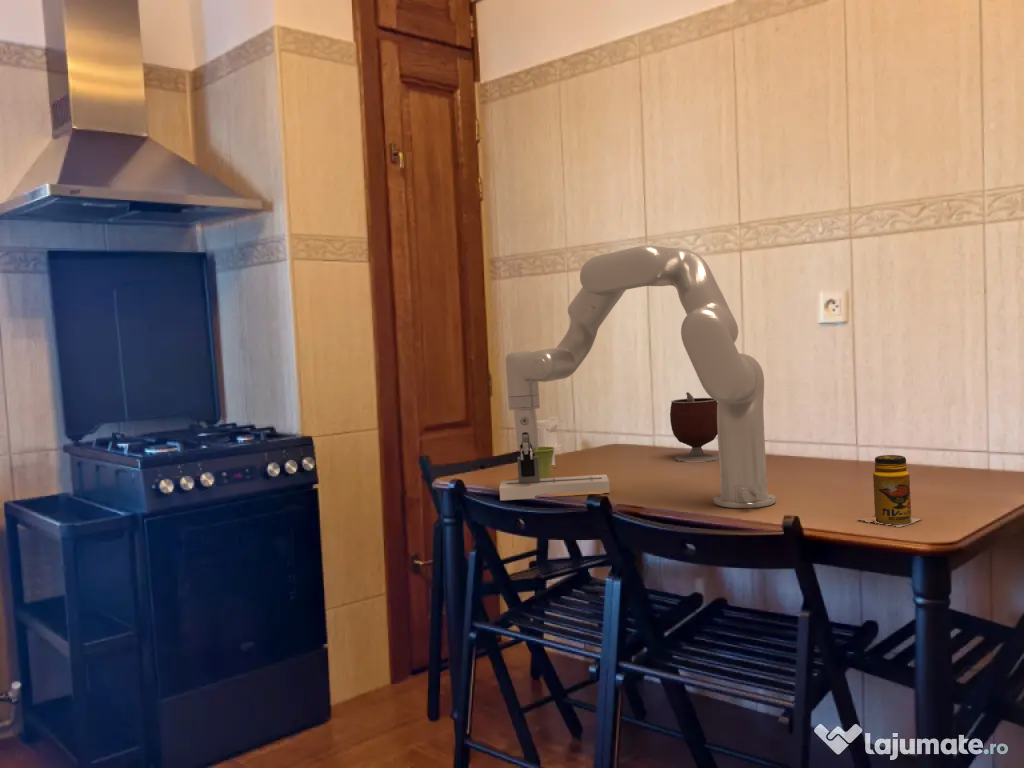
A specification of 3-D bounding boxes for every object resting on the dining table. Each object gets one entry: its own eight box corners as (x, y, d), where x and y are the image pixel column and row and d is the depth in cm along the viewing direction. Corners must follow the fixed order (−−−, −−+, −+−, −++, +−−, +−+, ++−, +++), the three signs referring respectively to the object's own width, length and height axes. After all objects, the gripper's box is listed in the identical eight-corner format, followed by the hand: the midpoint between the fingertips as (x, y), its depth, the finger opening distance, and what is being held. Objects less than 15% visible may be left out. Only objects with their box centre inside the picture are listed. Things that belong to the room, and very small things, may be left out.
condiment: (900, 528, 150) (897, 460, 149) (856, 521, 157) (853, 457, 156) (922, 520, 154) (919, 455, 153) (878, 514, 161) (875, 452, 160)
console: (610, 493, 199) (609, 480, 199) (500, 500, 201) (499, 487, 200) (607, 486, 209) (606, 474, 209) (502, 492, 211) (501, 480, 210)
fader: (539, 482, 203) (537, 457, 203) (518, 483, 204) (517, 458, 203) (539, 480, 207) (538, 455, 206) (519, 481, 207) (517, 456, 206)
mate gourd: (678, 455, 252) (674, 388, 251) (725, 455, 247) (721, 386, 245) (666, 464, 238) (662, 393, 237) (716, 463, 232) (712, 391, 231)
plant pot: (527, 478, 230) (525, 446, 230) (561, 477, 227) (558, 445, 227) (516, 484, 221) (514, 451, 221) (551, 484, 218) (548, 450, 218)
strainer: (556, 470, 239) (553, 418, 238) (533, 470, 242) (530, 418, 242) (566, 466, 246) (562, 415, 245) (543, 466, 249) (540, 415, 248)
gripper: (539, 404, 195) (544, 478, 196) (539, 399, 213) (544, 466, 213) (506, 406, 196) (511, 480, 197) (510, 401, 213) (514, 468, 214)
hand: (528, 473), depth 205 cm, fingers open, 9 cm apart
